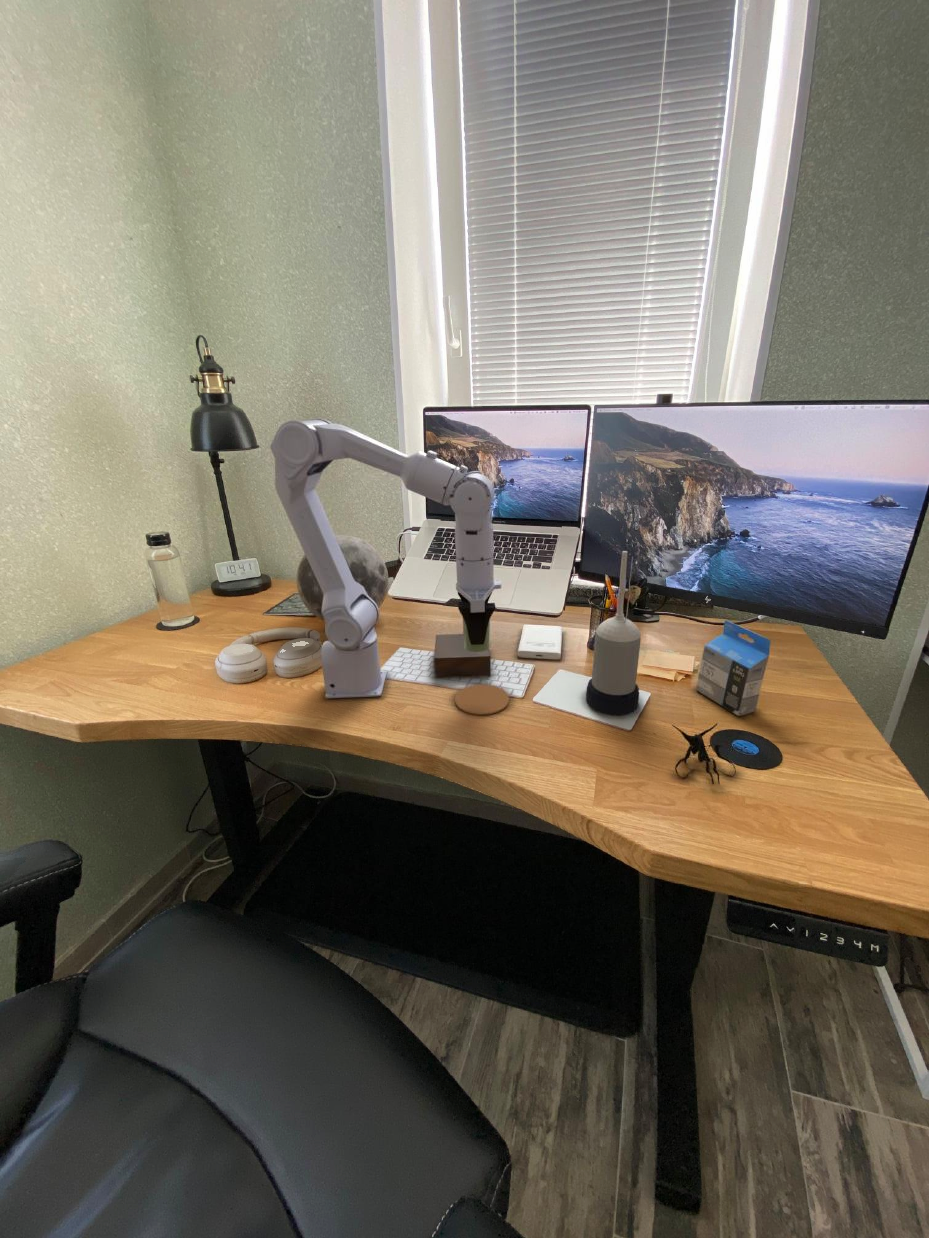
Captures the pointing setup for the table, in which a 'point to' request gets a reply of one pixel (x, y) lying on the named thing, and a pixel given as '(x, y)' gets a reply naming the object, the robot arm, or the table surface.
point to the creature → (701, 752)
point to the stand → (459, 658)
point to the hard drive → (540, 642)
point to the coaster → (481, 699)
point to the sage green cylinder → (475, 647)
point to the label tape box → (734, 669)
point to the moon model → (362, 566)
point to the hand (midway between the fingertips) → (476, 637)
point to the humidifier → (615, 660)
